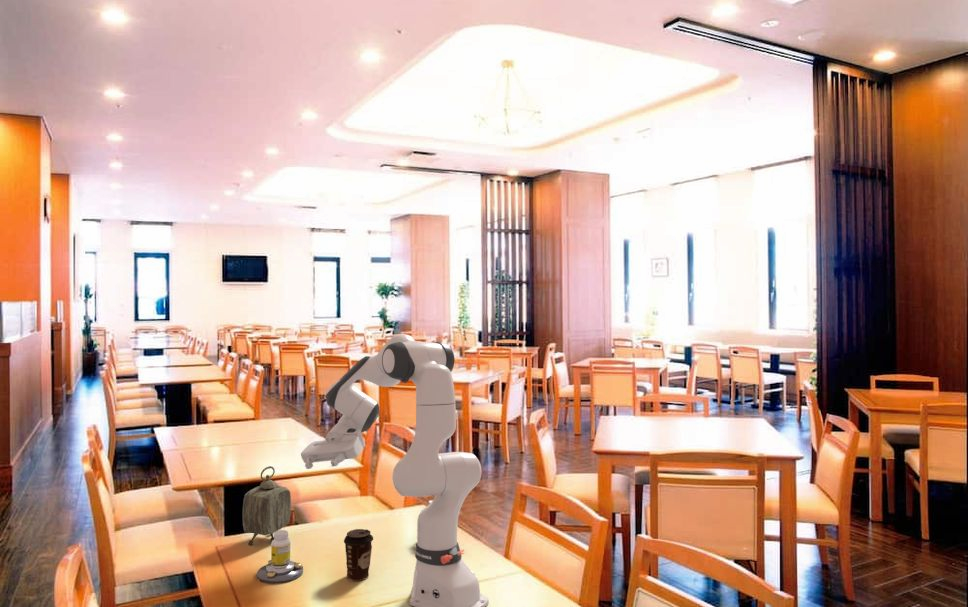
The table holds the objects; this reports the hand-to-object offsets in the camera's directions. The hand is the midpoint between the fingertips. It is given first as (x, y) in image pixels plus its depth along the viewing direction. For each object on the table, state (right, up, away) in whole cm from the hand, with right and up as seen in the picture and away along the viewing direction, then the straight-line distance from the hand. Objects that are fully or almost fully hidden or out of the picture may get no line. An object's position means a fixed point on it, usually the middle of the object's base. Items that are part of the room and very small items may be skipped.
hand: (320, 465), depth 204 cm
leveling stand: (-10, -30, -9) cm, 33 cm away
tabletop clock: (-22, -30, +18) cm, 41 cm away
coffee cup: (+14, -31, -10) cm, 35 cm away
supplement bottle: (-10, -28, -9) cm, 30 cm away
